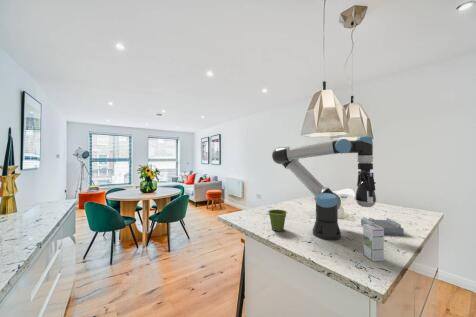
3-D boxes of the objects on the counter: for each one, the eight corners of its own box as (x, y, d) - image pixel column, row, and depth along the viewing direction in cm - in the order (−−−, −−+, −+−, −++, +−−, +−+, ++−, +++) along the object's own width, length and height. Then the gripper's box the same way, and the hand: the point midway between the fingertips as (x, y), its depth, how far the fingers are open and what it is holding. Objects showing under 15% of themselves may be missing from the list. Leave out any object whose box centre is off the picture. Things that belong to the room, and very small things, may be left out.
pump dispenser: (380, 208, 109) (379, 181, 109) (359, 207, 112) (358, 181, 112) (372, 204, 119) (371, 179, 119) (353, 203, 122) (352, 179, 122)
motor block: (373, 233, 116) (373, 224, 116) (358, 223, 136) (358, 214, 136) (403, 235, 114) (403, 225, 114) (383, 224, 134) (383, 215, 134)
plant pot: (285, 226, 129) (285, 209, 129) (288, 233, 117) (288, 214, 117) (267, 226, 130) (267, 208, 130) (268, 232, 118) (268, 213, 118)
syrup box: (384, 261, 85) (384, 227, 85) (372, 261, 85) (372, 228, 85) (374, 254, 91) (374, 223, 91) (362, 255, 91) (362, 223, 91)
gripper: (382, 163, 104) (383, 205, 104) (363, 162, 126) (364, 197, 126) (367, 163, 105) (367, 204, 105) (350, 162, 128) (351, 196, 127)
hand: (365, 200), depth 116 cm, fingers closed on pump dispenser, 10 cm apart
